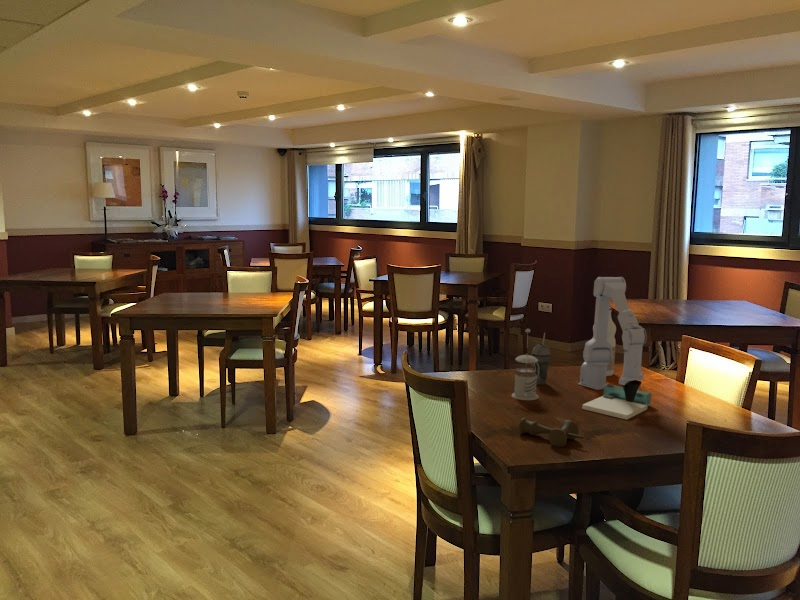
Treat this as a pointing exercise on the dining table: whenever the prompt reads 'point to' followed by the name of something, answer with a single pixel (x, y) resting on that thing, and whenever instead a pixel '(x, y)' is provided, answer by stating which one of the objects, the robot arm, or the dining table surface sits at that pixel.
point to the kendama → (551, 431)
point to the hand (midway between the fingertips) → (629, 401)
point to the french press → (525, 378)
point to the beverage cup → (541, 361)
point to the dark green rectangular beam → (620, 394)
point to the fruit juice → (611, 340)
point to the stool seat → (614, 407)
